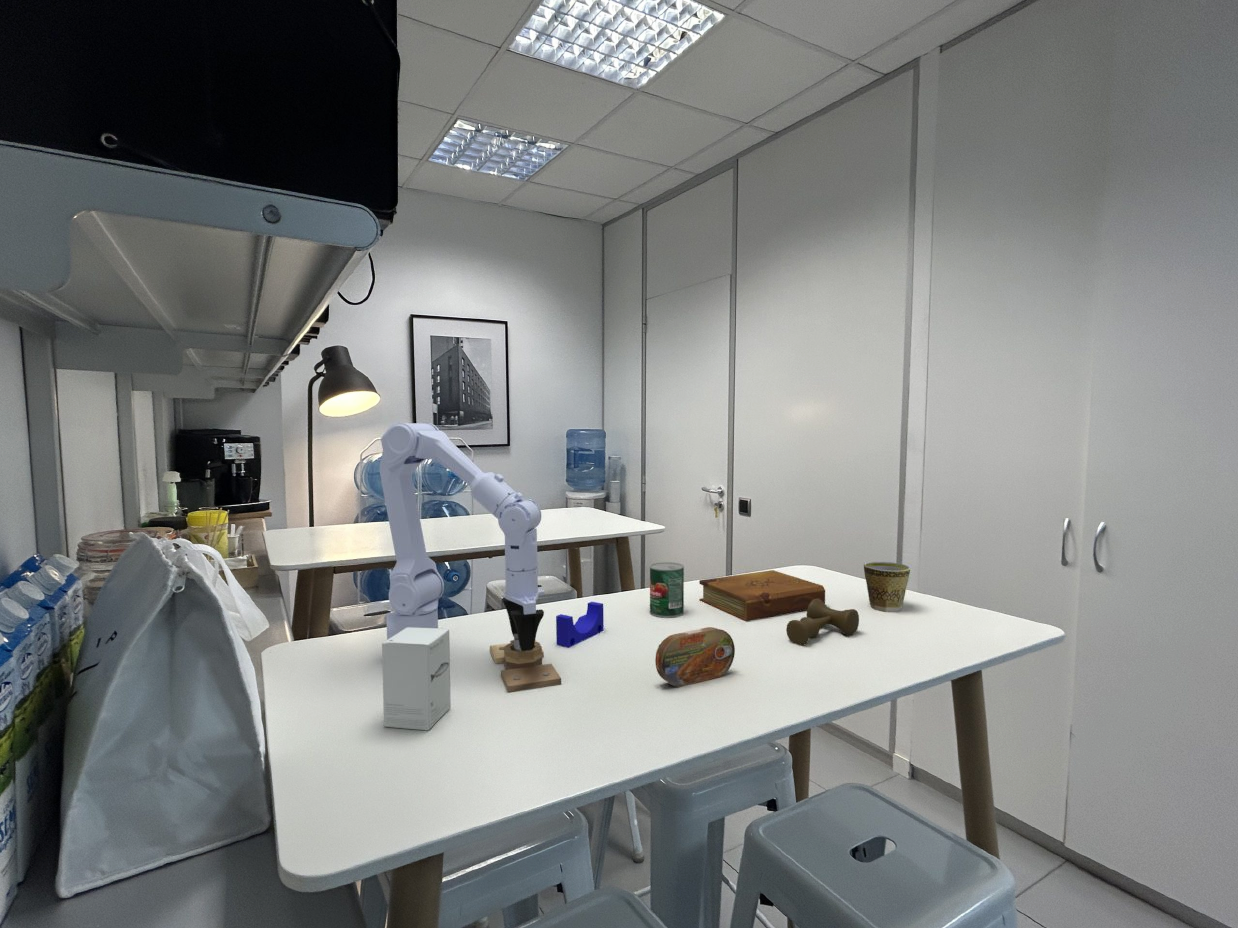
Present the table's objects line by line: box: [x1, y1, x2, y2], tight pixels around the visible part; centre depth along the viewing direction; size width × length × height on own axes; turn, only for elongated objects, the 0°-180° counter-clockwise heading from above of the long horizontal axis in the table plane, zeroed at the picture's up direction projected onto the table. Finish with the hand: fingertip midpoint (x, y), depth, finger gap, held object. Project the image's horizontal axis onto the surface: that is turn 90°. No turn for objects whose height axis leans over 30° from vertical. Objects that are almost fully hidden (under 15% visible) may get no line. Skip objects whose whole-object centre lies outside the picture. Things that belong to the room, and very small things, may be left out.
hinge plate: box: [500, 657, 562, 693], centre depth 109 cm, size 9×13×2 cm
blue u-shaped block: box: [555, 601, 605, 649], centre depth 127 cm, size 12×4×6 cm, turn 146°
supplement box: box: [381, 627, 452, 731], centre depth 92 cm, size 7×7×13 cm
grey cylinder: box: [513, 632, 529, 652], centre depth 112 cm, size 3×3×6 cm
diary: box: [698, 569, 826, 622], centre depth 150 cm, size 23×19×6 cm
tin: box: [654, 626, 736, 688], centre depth 106 cm, size 15×3×8 cm, turn 117°
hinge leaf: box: [489, 639, 545, 665], centre depth 115 cm, size 9×13×4 cm
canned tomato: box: [649, 561, 685, 619], centre depth 143 cm, size 8×8×11 cm
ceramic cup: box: [863, 561, 911, 613], centre depth 147 cm, size 13×10×10 cm
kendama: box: [785, 599, 860, 646], centre depth 128 cm, size 6×10×20 cm
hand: (522, 642), depth 112 cm, fingers open, 7 cm apart
